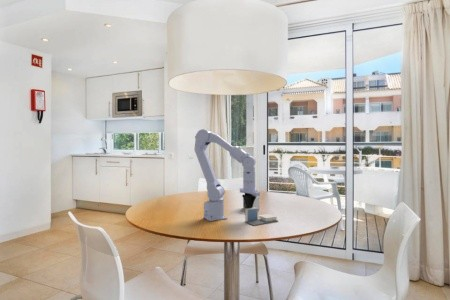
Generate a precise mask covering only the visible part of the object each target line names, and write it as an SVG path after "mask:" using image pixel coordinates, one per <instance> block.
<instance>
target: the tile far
mask: <svg viewBox="0 0 450 300" xmlns="http://www.w3.org/2000/svg"><path fill="white" fill-rule="evenodd" d="M259 219H261V220H263V221H266V222H267V221H273V220H278V219H277V216H276V215H273V214H270V213H267V214H258V220H259Z"/></svg>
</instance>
